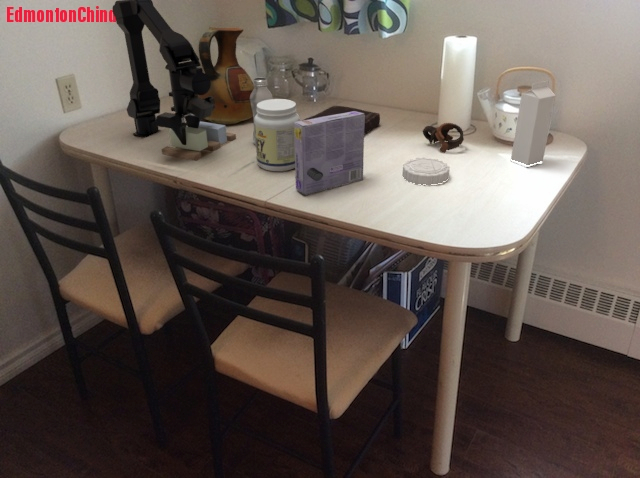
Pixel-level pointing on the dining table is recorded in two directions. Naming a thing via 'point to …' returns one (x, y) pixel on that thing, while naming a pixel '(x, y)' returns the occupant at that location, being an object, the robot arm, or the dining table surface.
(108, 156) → the dining table surface
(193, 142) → the sage block
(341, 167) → the cake pan box
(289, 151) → the supplement tub
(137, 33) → the robot arm
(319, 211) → the dining table surface
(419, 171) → the mooncake
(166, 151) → the slot rack
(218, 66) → the ceramic pitcher
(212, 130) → the slate block
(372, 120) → the diary
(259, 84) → the plastic bottle
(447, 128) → the brown coiled piece
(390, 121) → the dining table surface
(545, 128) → the milk
